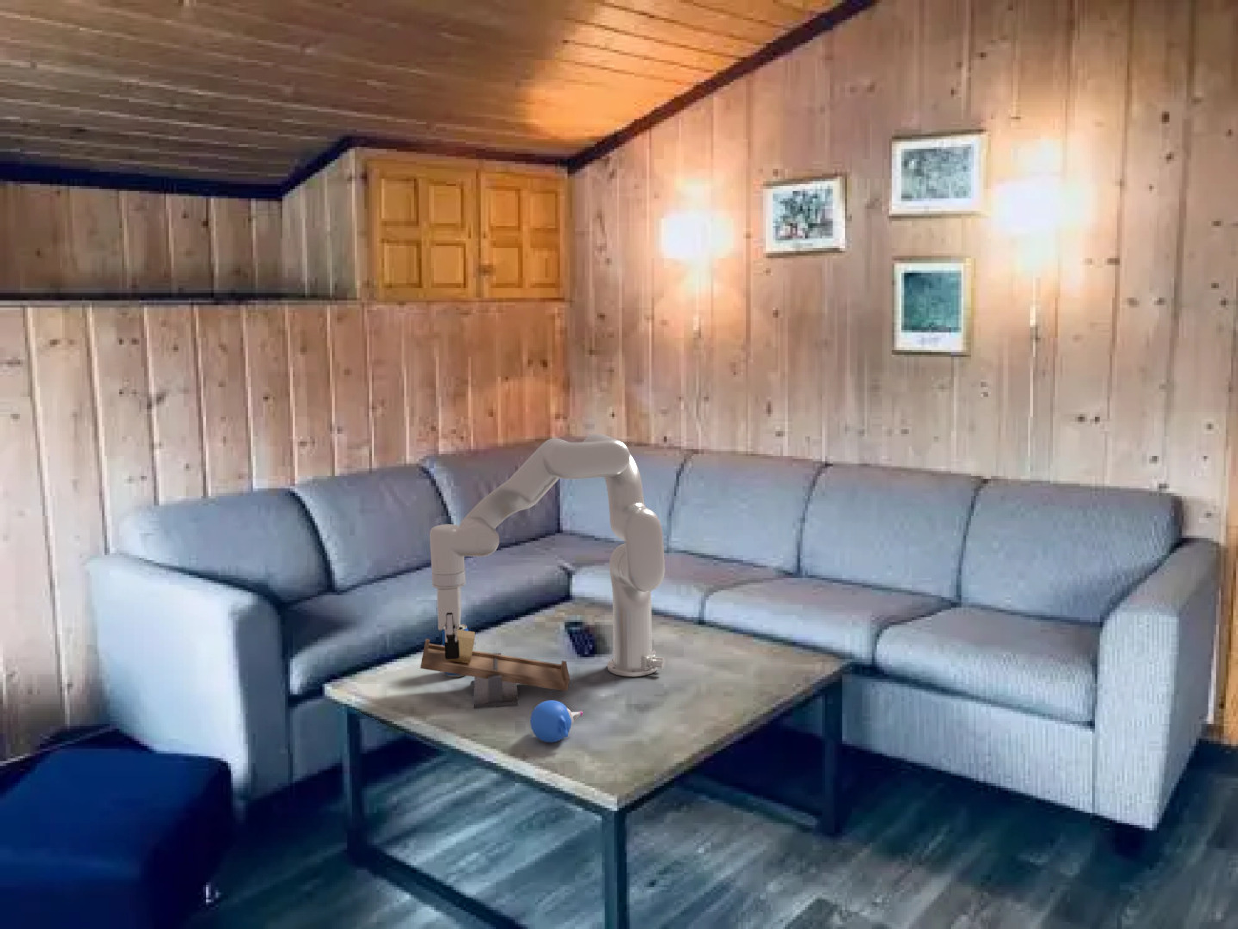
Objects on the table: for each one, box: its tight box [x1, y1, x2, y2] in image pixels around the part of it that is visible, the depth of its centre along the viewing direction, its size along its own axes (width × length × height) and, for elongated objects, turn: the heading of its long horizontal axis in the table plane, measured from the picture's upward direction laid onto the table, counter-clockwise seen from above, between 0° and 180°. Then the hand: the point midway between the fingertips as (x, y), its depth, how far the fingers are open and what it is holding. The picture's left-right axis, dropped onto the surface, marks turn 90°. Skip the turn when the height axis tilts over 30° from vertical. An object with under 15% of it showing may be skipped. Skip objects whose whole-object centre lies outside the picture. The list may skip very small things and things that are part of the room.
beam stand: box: [473, 652, 519, 710], centre depth 248 cm, size 10×18×7 cm, turn 7°
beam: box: [419, 638, 571, 692], centre depth 247 cm, size 34×13×3 cm, turn 97°
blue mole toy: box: [530, 699, 584, 743], centre depth 222 cm, size 12×12×8 cm
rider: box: [449, 630, 476, 664], centre depth 246 cm, size 5×5×6 cm
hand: (452, 653), depth 246 cm, fingers closed on rider, 5 cm apart
